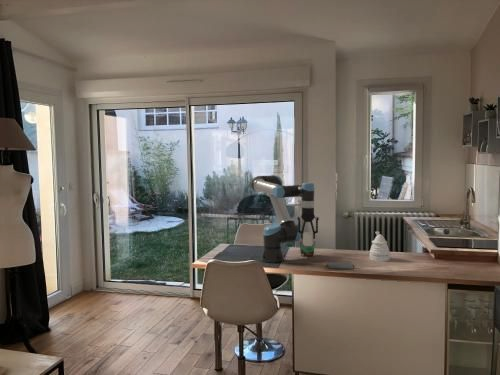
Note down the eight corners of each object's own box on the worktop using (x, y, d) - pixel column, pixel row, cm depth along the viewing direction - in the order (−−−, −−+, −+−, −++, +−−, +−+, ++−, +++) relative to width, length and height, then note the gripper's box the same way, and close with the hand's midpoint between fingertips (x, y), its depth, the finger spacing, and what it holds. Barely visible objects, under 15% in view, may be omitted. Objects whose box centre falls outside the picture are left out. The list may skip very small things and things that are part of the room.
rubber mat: (328, 268, 259) (328, 267, 259) (327, 263, 272) (327, 262, 272) (353, 269, 256) (353, 268, 256) (351, 263, 269) (351, 262, 269)
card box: (303, 245, 262) (303, 234, 262) (304, 242, 271) (304, 232, 271) (311, 245, 262) (311, 234, 261) (312, 242, 270) (312, 232, 270)
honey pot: (365, 258, 283) (365, 232, 282) (377, 255, 290) (377, 230, 289) (381, 262, 272) (382, 234, 271) (393, 259, 280) (394, 232, 279)
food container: (303, 258, 287) (303, 243, 286) (298, 256, 292) (298, 241, 292) (318, 256, 291) (318, 242, 291) (314, 254, 297) (314, 240, 296)
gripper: (293, 207, 262) (293, 244, 264) (322, 208, 259) (322, 245, 261) (294, 206, 270) (294, 242, 271) (322, 206, 267) (322, 242, 269)
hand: (308, 243), depth 266 cm, fingers closed on card box, 5 cm apart
